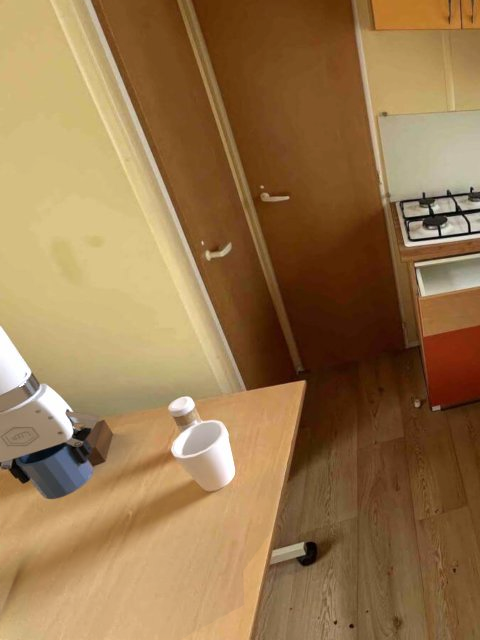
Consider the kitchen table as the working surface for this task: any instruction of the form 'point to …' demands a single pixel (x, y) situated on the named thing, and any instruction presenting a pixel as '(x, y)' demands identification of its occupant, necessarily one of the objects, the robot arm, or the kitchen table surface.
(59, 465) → the cup
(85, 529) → the kitchen table surface
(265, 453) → the kitchen table surface
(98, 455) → the block
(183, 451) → the foam cup
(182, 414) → the sprinkles bottle
